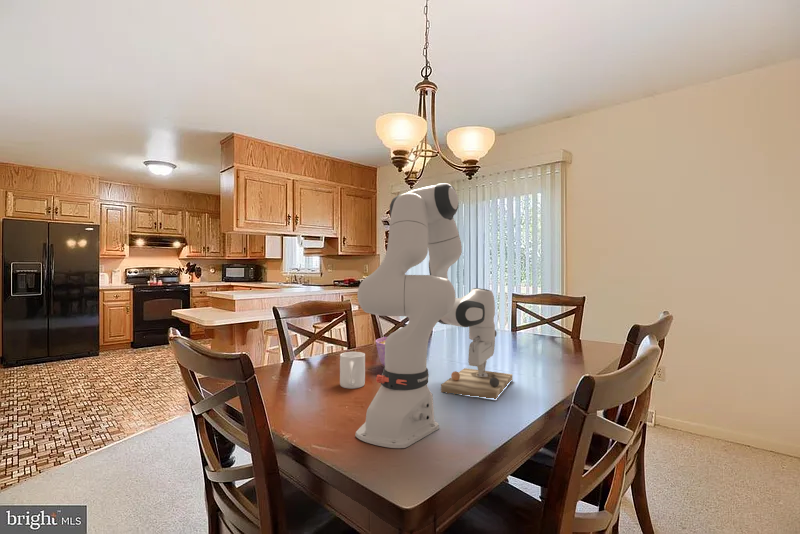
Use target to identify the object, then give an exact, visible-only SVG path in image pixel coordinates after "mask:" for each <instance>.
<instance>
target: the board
mask: <svg viewBox="0 0 800 534" xmlns="http://www.w3.org/2000/svg"><path fill="white" fill-rule="evenodd" d="M457 372H458V373H459V374H460V378H459V380H453V379H452V377H451V376H450V378H449V379H447V380H446V381H444V382H443V383H442V384H440V393H443V392H447V393H446V394H449V393H454V394H453V395H455V394H462V395H470V396H479V397H486V398H494V399H496V398H497V397H498V395H499V394H500V393H501V392H502V391H503V389H504V388H505V387H506V386H507V384H508V383H509V382H510V381H511V380H512V381H513V373H504V372H497V371H489V370H485V373H487V374H488V377H481V376H479V374H478V369H475V368H474V369H473V368H467V367H463V368H462V369H461V370H460V371H457ZM493 377H495V378H497V379H498V380H499V385H498V386H497V387H492V386H491V385H490V379H491V378H493Z"/></svg>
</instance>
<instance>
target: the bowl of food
mask: <svg viewBox="0 0 800 534" xmlns="http://www.w3.org/2000/svg"><path fill="white" fill-rule="evenodd" d="M387 337H388V336H383V337H380V338H377V339H375V345H376V349H377V355H378V358H379V361H380V363H381V365H382V366H384V367H385V341H386V339H387Z"/></svg>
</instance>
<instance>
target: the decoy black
mask: <svg viewBox="0 0 800 534" xmlns="http://www.w3.org/2000/svg"><path fill="white" fill-rule="evenodd" d="M490 385H491V386H492V387H497V386H498V385H499V380H498V379H497V378H495V377H493V378H491V379H490Z"/></svg>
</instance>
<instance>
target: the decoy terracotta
mask: <svg viewBox="0 0 800 534" xmlns="http://www.w3.org/2000/svg"><path fill="white" fill-rule="evenodd" d="M458 372H459V371H457V370H456V371H453V372H452V373H451V374H450V375H451V376H450V378H451V377H452V379H453V380H459V378H460V374H459V373H458Z"/></svg>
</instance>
